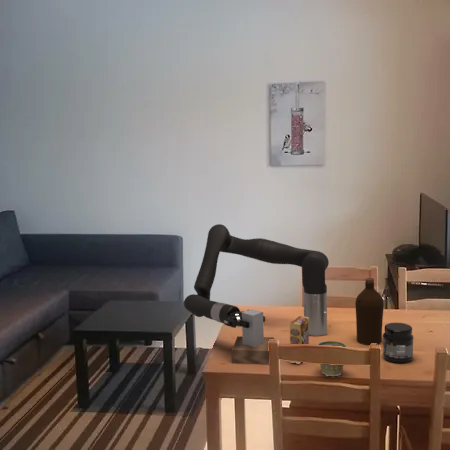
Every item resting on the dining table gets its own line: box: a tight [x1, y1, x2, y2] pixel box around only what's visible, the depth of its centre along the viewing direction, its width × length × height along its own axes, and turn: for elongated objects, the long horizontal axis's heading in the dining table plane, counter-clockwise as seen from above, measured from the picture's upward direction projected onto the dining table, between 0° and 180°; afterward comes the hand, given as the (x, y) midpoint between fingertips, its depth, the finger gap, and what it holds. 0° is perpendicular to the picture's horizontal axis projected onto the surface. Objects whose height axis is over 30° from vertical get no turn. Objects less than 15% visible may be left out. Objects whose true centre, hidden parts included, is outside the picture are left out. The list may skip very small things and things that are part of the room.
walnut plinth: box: [231, 335, 275, 365], centre depth 226 cm, size 14×14×5 cm
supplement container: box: [382, 322, 414, 364], centre depth 219 cm, size 10×10×12 cm
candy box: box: [289, 315, 310, 363], centre depth 220 cm, size 9×4×15 cm, turn 151°
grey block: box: [241, 308, 265, 347], centre depth 224 cm, size 6×6×12 cm
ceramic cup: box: [316, 340, 348, 376], centre depth 207 cm, size 13×10×10 cm
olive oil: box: [354, 277, 385, 346], centre depth 236 cm, size 11×11×25 cm
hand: (256, 322), depth 222 cm, fingers open, 8 cm apart
